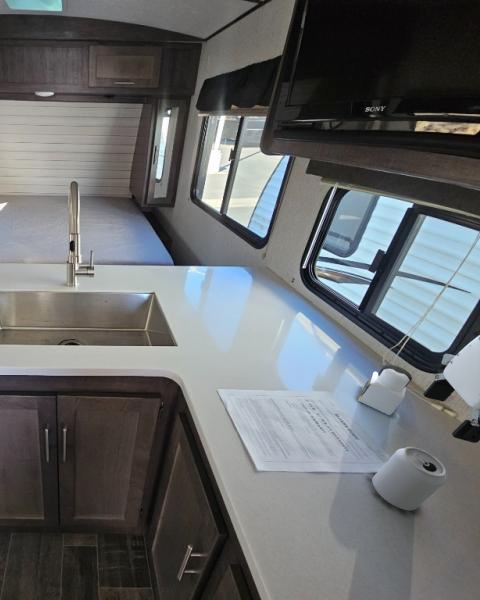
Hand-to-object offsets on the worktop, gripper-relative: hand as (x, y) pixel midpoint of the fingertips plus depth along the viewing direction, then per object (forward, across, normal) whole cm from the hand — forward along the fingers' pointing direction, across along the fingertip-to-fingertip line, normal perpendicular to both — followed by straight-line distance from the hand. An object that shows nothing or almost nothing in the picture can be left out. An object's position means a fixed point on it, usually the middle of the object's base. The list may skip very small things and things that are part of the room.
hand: (447, 417), depth 59 cm
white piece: (+22, +28, -8) cm, 37 cm away
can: (+22, -2, -1) cm, 22 cm away
